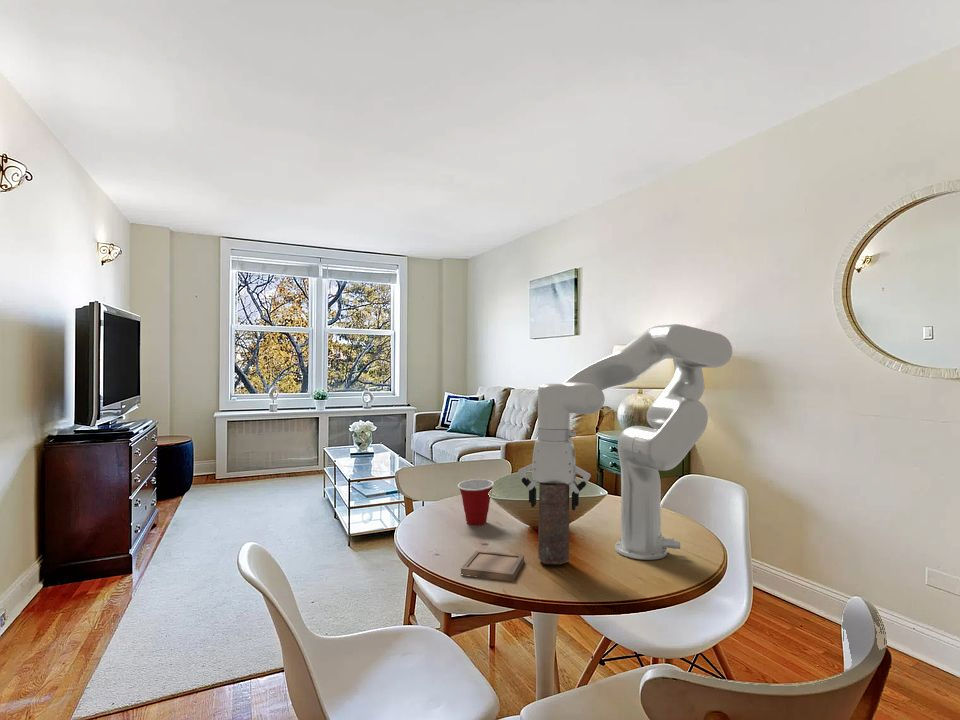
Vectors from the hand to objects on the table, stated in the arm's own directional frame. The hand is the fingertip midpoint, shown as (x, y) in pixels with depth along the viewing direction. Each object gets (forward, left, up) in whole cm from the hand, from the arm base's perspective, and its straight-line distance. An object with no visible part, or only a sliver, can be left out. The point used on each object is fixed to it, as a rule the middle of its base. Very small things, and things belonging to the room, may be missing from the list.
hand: (553, 507), depth 127 cm
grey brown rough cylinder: (0, 0, -14) cm, 14 cm away
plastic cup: (+27, -25, -14) cm, 39 cm away
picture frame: (+13, +7, -13) cm, 20 cm away
